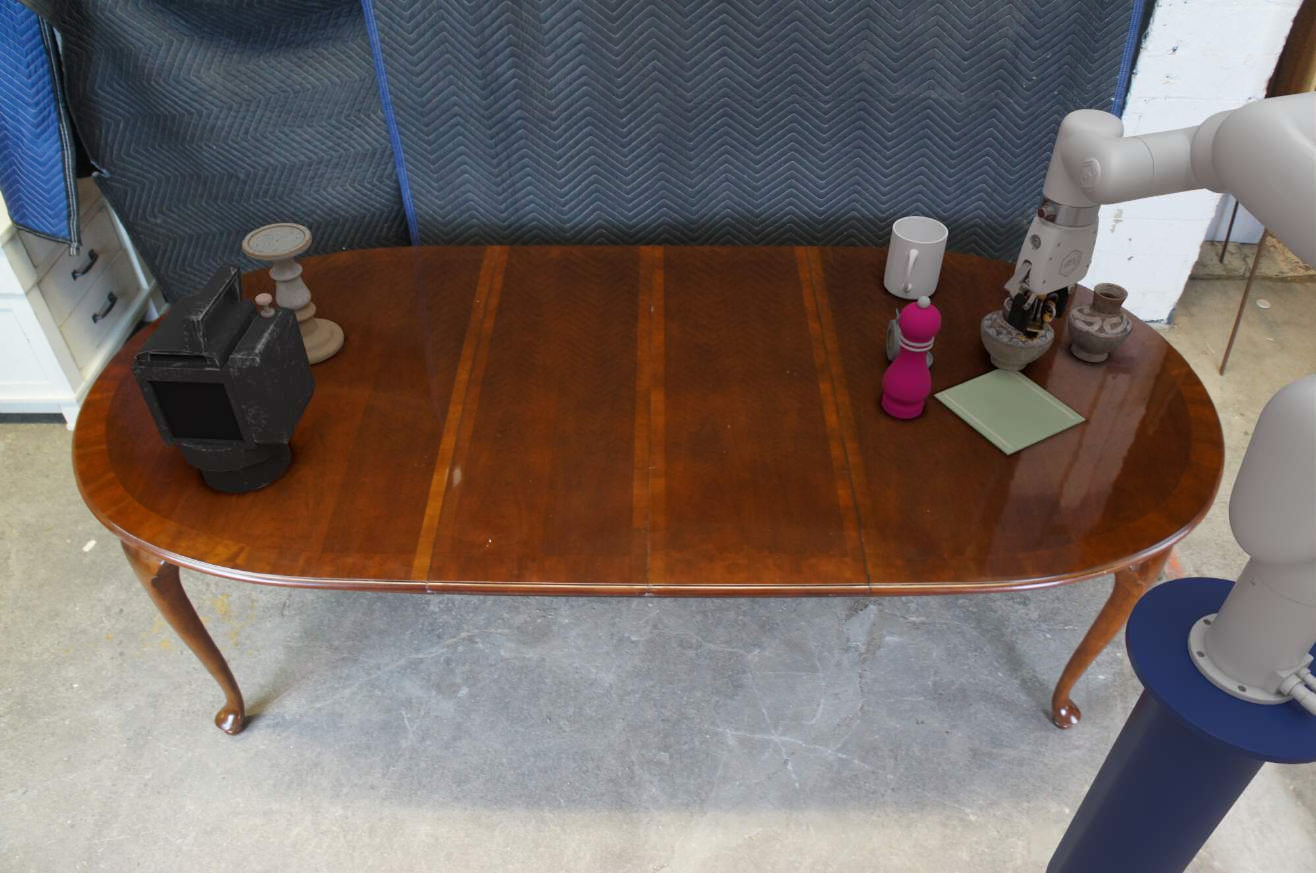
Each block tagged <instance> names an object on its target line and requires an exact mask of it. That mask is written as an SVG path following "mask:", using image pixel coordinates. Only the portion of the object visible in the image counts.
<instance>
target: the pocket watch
mask: <svg viewBox="0 0 1316 873" xmlns="http://www.w3.org/2000/svg"><path fill="white" fill-rule="evenodd" d="M895 313H896V316H895V319H891V320H890V321H889V322H888V326H887V329H886V330H887V331H886V336H885V337H886V339H885V340H886V342H885V344H886V345H885V346H886V347H885V348H886V355H887V358H888V361H891V362H892V363H893V362H894V360H895V359H896V358H897V356H898V354H899V352H900V347H901V345H900V343H899V341H898V338H899V333H900V331H901V329H900V327H899V324H898V322H899V316H900V313H899V310H898V308H895ZM926 361H927V366H928V369H929V368H930V367H931V366H932V364H933V362H934V359H933V355H932V354H931V352H930V351H929V350H928V351H927V357H926Z"/></svg>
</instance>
